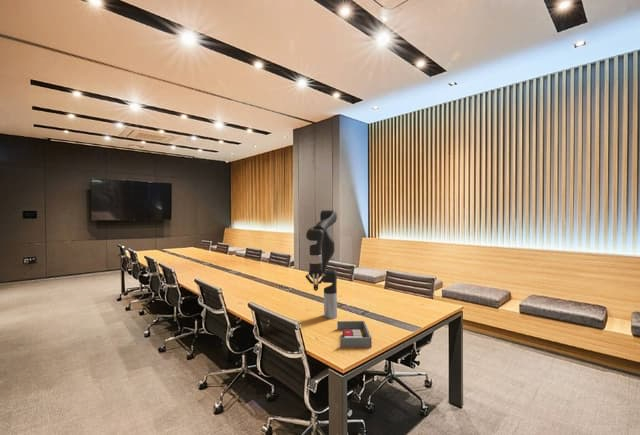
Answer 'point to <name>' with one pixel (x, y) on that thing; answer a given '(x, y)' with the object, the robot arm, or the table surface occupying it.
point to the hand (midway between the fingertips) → (315, 290)
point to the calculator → (352, 333)
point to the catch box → (354, 341)
